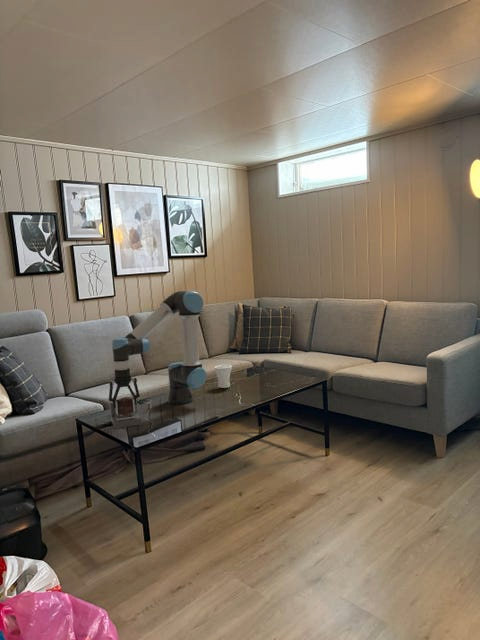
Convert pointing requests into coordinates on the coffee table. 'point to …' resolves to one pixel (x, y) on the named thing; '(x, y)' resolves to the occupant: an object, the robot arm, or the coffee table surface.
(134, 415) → the pan
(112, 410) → the scale
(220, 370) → the cup
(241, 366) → the coffee table surface
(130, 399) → the box
